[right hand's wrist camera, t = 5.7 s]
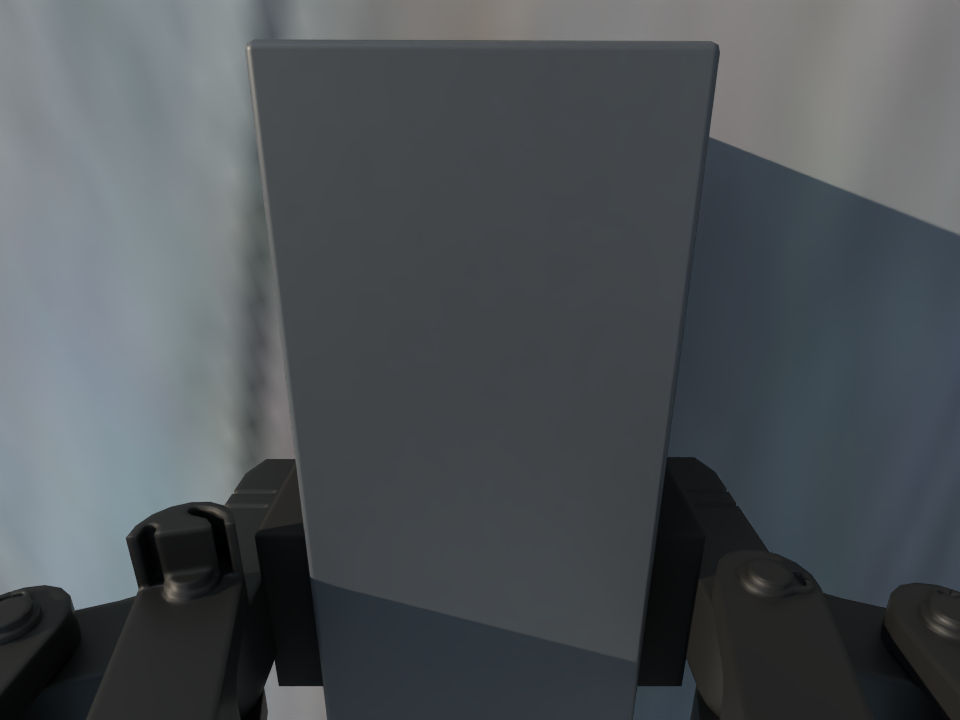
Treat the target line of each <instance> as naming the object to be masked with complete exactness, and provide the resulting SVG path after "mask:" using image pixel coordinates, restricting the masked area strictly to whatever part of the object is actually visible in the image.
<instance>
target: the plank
mask: <svg viewBox="0 0 960 720" xmlns="http://www.w3.org/2000/svg"><path fill="white" fill-rule="evenodd" d="M719 55H720V51H719V45H718V44H716V43H714V42H712V41H503V40H253V41H251V42H249V43H247V46H246V58H247V67H248V75H249V83H250V91H251V99H252V107H253V116H254V124H255V132H256V140H257V148H258V156H259V165H260V173H261V181H262V189H263V197H264V205H265V214H266V222H267V230H268V238H269V246H270V255H271V263H272V271H273V279H274V287H275V295H276V304H277V312H278V320H279V328H280V336H281V344H282V353H283V361H284V369H285V377H286V385H287V394H288V402H289V410H290V418H291V426H292V434H293V443H294V451H295V459H296V467H297V475H298V483H299V492H300V500H301V508H302V516H303V524H304V532H305V541H306V549H307V557H308V565H309V573H310V582H311V590H312V598H313V606H314V614H315V622H316V631H317V639H318V647H319V655H320V663H321V671H322V680H323V688H324V696H325V704H326V712H327V720H633V713H634V706H635V698H636V691H637V683H638V675H639V668H640V660H641V652H642V645H643V637H644V629H645V622H646V614H647V606H648V599H649V591H650V583H651V576H652V568H653V560H654V553H655V545H656V537H657V530H658V522H659V514H660V507H661V499H662V491H663V484H664V476H665V468H666V461H667V453H668V445H669V438H670V430H671V422H672V415H673V407H674V400H675V392H676V384H677V377H678V369H679V361H680V354H681V346H682V338H683V331H684V323H685V315H686V308H687V300H688V292H689V285H690V277H691V269H692V262H693V254H694V246H695V239H696V231H697V223H698V216H699V208H700V200H701V193H702V185H703V177H704V170H705V162H706V154H707V147H708V139H709V131H710V124H711V116H712V108H713V101H714V93H715V86H716V78H717V70H718V63H719Z"/></svg>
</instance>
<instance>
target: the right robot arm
mask: <svg viewBox="0 0 960 720" xmlns="http://www.w3.org/2000/svg"><path fill="white" fill-rule="evenodd" d="M126 541H127V545H128V549H129V552H130V556H131V560H132V564H133V568H134V572H135V576H136V580H137V584H138V588H139V590H138V593H137V595H136V596H134V597H131V598H127V599H124V600H121V601H116V602H112V603H107V604H103V605H98V606H94V607H89V608H85V609H80V610H76V611H75V610H74V606H73V603H72V600H71V597H70V595H69V594H68V593H66V592H65V591H64V590H63V589H62V588H58V587H52V586H47V585H43V586H34V587H26V588H22V589H18V590H15V591H12V592H8V593H5V594H3V595H0V720H267V714H268V710H267V703H266V696H265V690H264V686H265V683H266V681H267V678H268V675H269V673H270V670H271V668H272V665H273V662H274V660H275V665H276V671H277V677H278V683H279V686H323V680H322V671H321V663H320V655H319V647H318V639H317V631H316V622H315V614H314V606H313V598H312V590H311V582H310V573H309V565H308V557H307V549H306V541H305V532H304V524H303V516H302V508H301V500H300V492H299V483H298V475H297V467H296V459H266V460H265V461H263V462H262V463H260V464H259V465H257V466H256V467H255V468H253V469H252V470H250V471H249V472H248V473H246V474H245V476H244V477H243V479H242V480H241V482H240V483H239V485H238V486H237V488H236V489H235V491H234V494H232V495H231V497H230V498H229V500H228V501H227V502H226V504H225V506H224V505H220V504H216V503H212V502H191V503H186V504H182V505H177V506H173V507H170V508H167V509H165V510H162V511H160V512H158V513H155V514H153V515H151V516H149V517H148V518H147V519H145V520H144V521H142V522H141V523H139V524H138V525H136V526H135V527H134V529H133V530H132V531H131V532H130V534H129V535H128V536H127V537H126ZM686 659H687V661H688V664H689V666H690V669H691V671H692V674H693V677H694V679H695V682H696V684H697V685H696V690H695V696H694V702H693V707H692V713H691V719H690V720H960V592H958V591H955V590H952V589H948V588H945V587H942V586H938V585H931V584H923V583H912V584H906V585H900V586H899V587H898V588H897V589H895V590H894V591H893V592H892V593H891V595H890V598H889V602H888V605H887V608H883V607H878V606H874V605H869V604H865V603H860V602H856V601H851V600H847V599H842V598H838V597H835V596H832V595H828V594H825V593H823V592H822V589H821V588H820V586H819V585H818V583H817V582H816V580H815V579H814V577H813V576H812V575H811V574H810V573H809V572H807V571H806V570H805V569H803V568H802V567H801V566H800V565H798V564H797V563H795V562H793V561H791V560H789V559H787V558H785V557H782V556H780V555H778V554H774V553H770V552H769V551H768V550H767V548H766V547H765V545H764V544H763V542H762V541H761V539H760V538H759V536H758V535H757V533H756V532H755V530H754V529H753V527H752V526H751V524H750V523H749V522H748V520H747V519H746V517H745V516H744V514H743V513H742V511H741V510H740V508H739V507H738V506H736V502H735V501H734V499H733V498H732V496H731V495H730V493H729V492H726V488H725V486H724V485H723V483H722V482H721V480H720V479H719V477H718V476H717V474H716V473H715V472H714V471H713V470H712V469H710V468H709V467H707V466H706V465H704V464H703V463H702V462H700V461H699V460H697V459H696V458H694V457H667V461H666V468H665V476H664V484H663V491H662V499H661V507H660V514H659V522H658V530H657V537H656V545H655V553H654V560H653V568H652V576H651V583H650V591H649V599H648V606H647V614H646V622H645V629H644V637H643V645H642V652H641V660H640V668H639V675H638V683H637V686H681V685H682V679H683V673H684V667H685V661H686Z"/></svg>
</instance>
